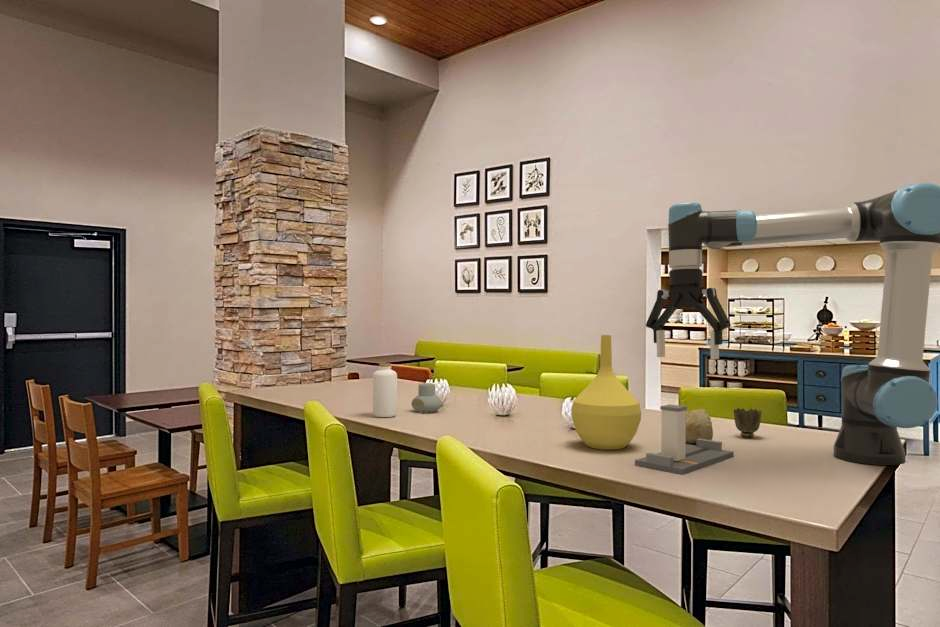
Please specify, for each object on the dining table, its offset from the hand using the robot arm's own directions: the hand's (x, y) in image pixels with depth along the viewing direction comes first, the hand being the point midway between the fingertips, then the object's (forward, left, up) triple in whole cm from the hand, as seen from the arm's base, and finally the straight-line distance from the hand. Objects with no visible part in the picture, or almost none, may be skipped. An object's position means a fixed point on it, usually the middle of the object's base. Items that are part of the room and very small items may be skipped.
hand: (687, 358), depth 154 cm
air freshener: (+103, -5, -25) cm, 106 cm away
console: (+2, -2, -25) cm, 25 cm away
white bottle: (+105, +12, -25) cm, 108 cm away
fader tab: (+2, +3, -24) cm, 24 cm away
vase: (+25, -2, -25) cm, 35 cm away
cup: (+4, -42, -25) cm, 50 cm away
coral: (+11, -24, -25) cm, 37 cm away
